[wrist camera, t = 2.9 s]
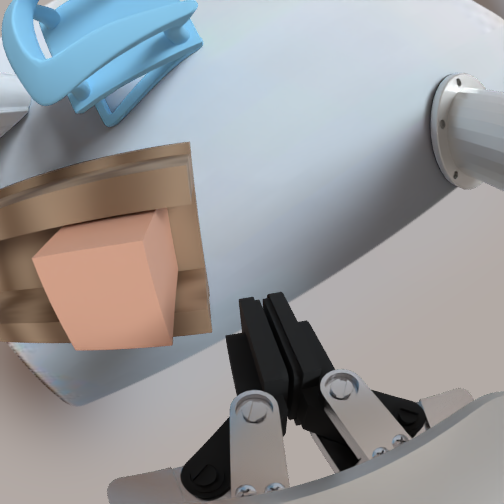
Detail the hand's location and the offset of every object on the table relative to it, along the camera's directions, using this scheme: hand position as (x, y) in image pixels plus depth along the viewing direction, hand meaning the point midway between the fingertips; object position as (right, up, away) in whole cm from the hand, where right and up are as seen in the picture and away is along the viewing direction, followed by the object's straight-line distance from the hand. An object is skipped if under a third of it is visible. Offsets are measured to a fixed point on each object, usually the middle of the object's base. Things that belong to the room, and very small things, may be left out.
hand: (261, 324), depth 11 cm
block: (-9, +4, +8) cm, 13 cm away
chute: (-15, +4, +8) cm, 17 cm away
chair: (-8, +16, +3) cm, 18 cm away
